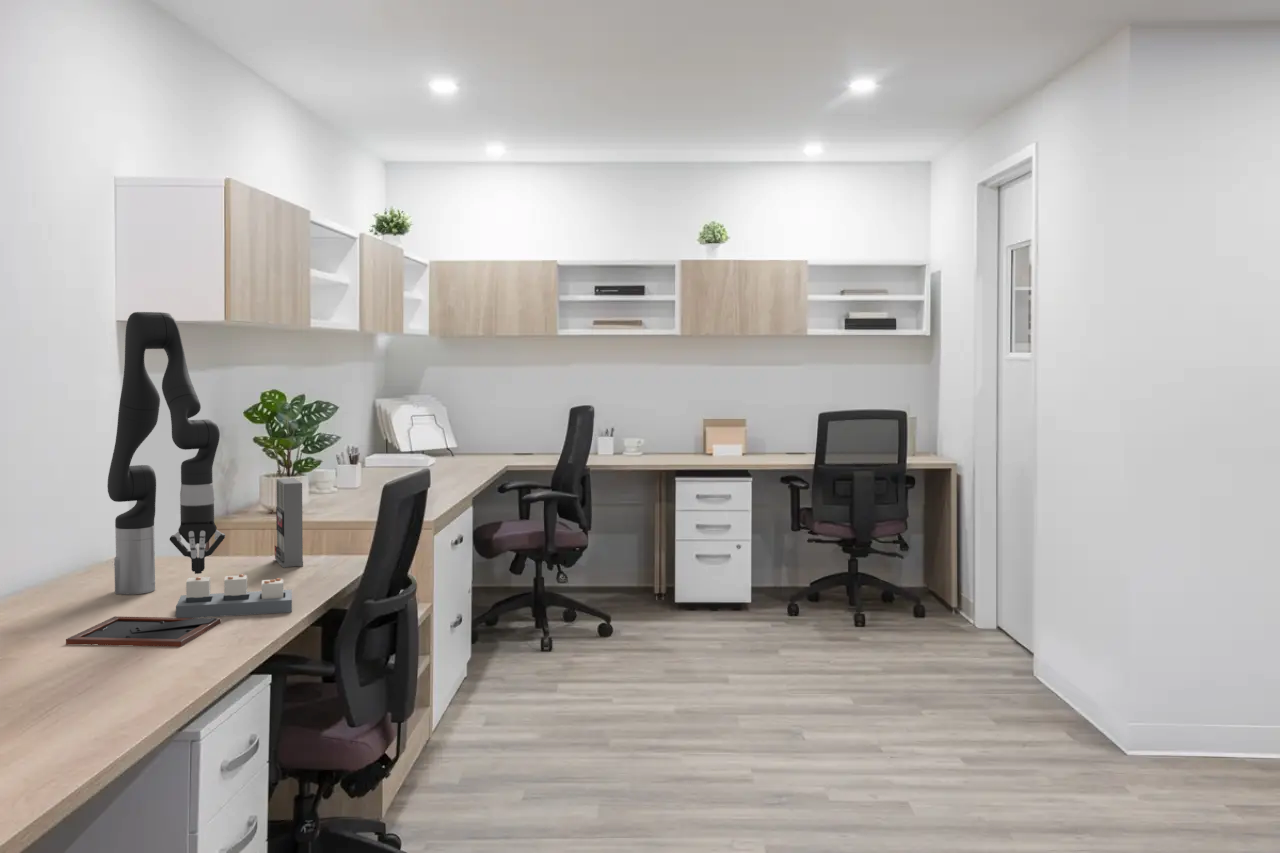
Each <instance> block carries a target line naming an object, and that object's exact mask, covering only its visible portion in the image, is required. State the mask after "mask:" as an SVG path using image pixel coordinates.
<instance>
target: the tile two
mask: <svg viewBox="0 0 1280 853" xmlns="http://www.w3.org/2000/svg"><path fill="white" fill-rule="evenodd" d="M223 582H224V583H223V584H224V585H223V588H224V589H223V591H224V592H223V593H224V596H227V595H231V596H240V595H246V594H247V592H248V574H243V573H241V574H240V573H239V574H236V575H225V576H224V580H223Z"/></svg>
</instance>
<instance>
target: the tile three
mask: <svg viewBox="0 0 1280 853" xmlns="http://www.w3.org/2000/svg"><path fill="white" fill-rule="evenodd" d="M283 590H284V578H281V577H280V578H275V579H261V591H262V599H269V598H283Z"/></svg>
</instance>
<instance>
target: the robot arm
mask: <svg viewBox="0 0 1280 853" xmlns="http://www.w3.org/2000/svg"><path fill="white" fill-rule="evenodd" d="M124 335H125V336H124V337H125V338H124V368H123V369H124V370H123V377H122V386H121V392H120V399H119V403H118V404H119V405H118V414H117V427H116V435H115V442H114V443H115V444H114V447H113V453H112V457H111V461H110V467H109V470H108V475H107V476H108V477H107V494H108V497H109V499H110V500H111V501H113V502H116V503H122V502H123V503H124V502H135V505H133V507H132V508H130V509H128V510H127V511H125V512H123V513H120V514H118V515H117V516H116V517H115V519H114V520H115V521H114V523H115V524H114V525H115V527H114V528H115V557H114V559H113V561H114V567H113V568H114V594H115V595H140V594H148V593H152V592H154V591H155V590H156V559H155V554H156V552H155V550H156V549H155V547H156V546H155V544H156V543H155V541H156V539H155V518H156V497H157V477H156V473H155V470H154V468H153V467H152V466H151V465H149V464H141V465H140V464H137V465H131V463H132V462H131V461H132V459H133V457H134V455H135V452H137V450H138V448H140V446H141V444H142V443H144V442H145V440H146V439H147V438H148V436H149V435H150V434H151V433H152V432H153V430H154V429H155V427H156V426H157V424H158V419H159V415H160V414H159V413H160V406H161V405H160V404H161V397H160V393H159V392H158V389H157V387H156V385H155V384H154V382H153V380H152V379H151V377H150V376H149V374H148V372H147V369H146V365H145V354H146V350H164V352H165V353H166V356H167V364H166V368H165V372H164V374H163V378H162V380H161V381H162V382H161V390H162V395H163V396H164V400H165V402H166V405H167V407H168V410H169V414H170V421H171V422H170V423H171V438H172V441H173V443H174V445H175V446H176V447H177V448H179V449H180V450H185V451H186V450H188V451H189V450H198V451H197V453H196V455H195V456H193V457H192V458H188V459H185V460H183V461H182V462H181V465H180V483H181V484H180V492H179V493H180V494H179V497H180V498H179V501H180V502H179V505H180V509H179V510H180V512H179V514H180V525H179V527H178V530H177V532H175V533H174V534H173V535H171V536H170V537H169V542H171V544H172V545H173V546H174V547H175V548H176V549H177V550H178V551H179V552H180V553H181V554H182V556H183V557H187V558H190V559H191V560H190V561H191V571H192V573H193V572H194V575H196V574H197V575H199V574H202V573H203V572H204V570H205V560H206V559H205V558H206V557H208V556H212V555H213V553H214V552H215V551H216V550H217V548H218V547H219V546H220V544H222V542H223V541H224V539H225V538H226V534H225V533H224V532H221V531H219V530H218V529H217V525H216V524H215V492H214V484H213V482H214V481H213V480H214V479H213V465H214V461H215V458H216V454H217V451H218V450H217V449H218V446H219V442H220V438H221V437H220V433H221V432H220V428H219V426H218V424H217V423H216V422H215V421H214V420H212V419H190V418H193V417H195V416H197V415H198V414H199V413H200V411H201V408H202V407H201V403H200V399H199V398H198V397H199V396H198V395H197V393H196V391H195V390H196V389H195V388H194V385H193V383H192V380H191V377H190V374H189V369H188V366H187V361H186V360H187V359H186V356H185V351H184V346H183V342H182V337H181V332H180V329H179V326H178V324H177V321H176V319H175V317H174V316H173V315H172V314H171V313H168V312H162V311H161V312H159V311H156V312H155V311H153V312H152V311H135V312H133V313H130V315H129V316H128V319H127V321H126V324H125V334H124ZM212 537H214V538H213V539H214V540H215V541H214V542H213V543H212V544H211V545H210V547H209V548H208V549H206V545H207V543H208V542H209V541H210V540H211V539H212ZM182 538H183V539H184V541H185V542H186V543H187V544H189V548H190V550H189V549H188V548H187V547H186V546H185V545H184V543H182ZM197 544H199V546H198V545H197Z"/></svg>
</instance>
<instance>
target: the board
mask: <svg viewBox="0 0 1280 853" xmlns="http://www.w3.org/2000/svg"><path fill="white" fill-rule="evenodd" d="M292 594H293V589H283V598H269V599H262V590H257V591H256V590H255V591H247V594H246V595H240V596H231V595H227V596H224V592H222V593H221V592H218V593H217V592H216V593H210V595H209V596H208V597H203V598H194V597H190V598H186V594H183V595H182V594H181V595H180V597H179V598H178V601H177V603H176V606H175V618H217V617H228V616H232V617H234V616H246V615H247V616H248V615H263V614H264V615H265V614H267V615H268V614H283V613H292V612H293V600H292V599H293V598H292V597H293V595H292Z"/></svg>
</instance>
